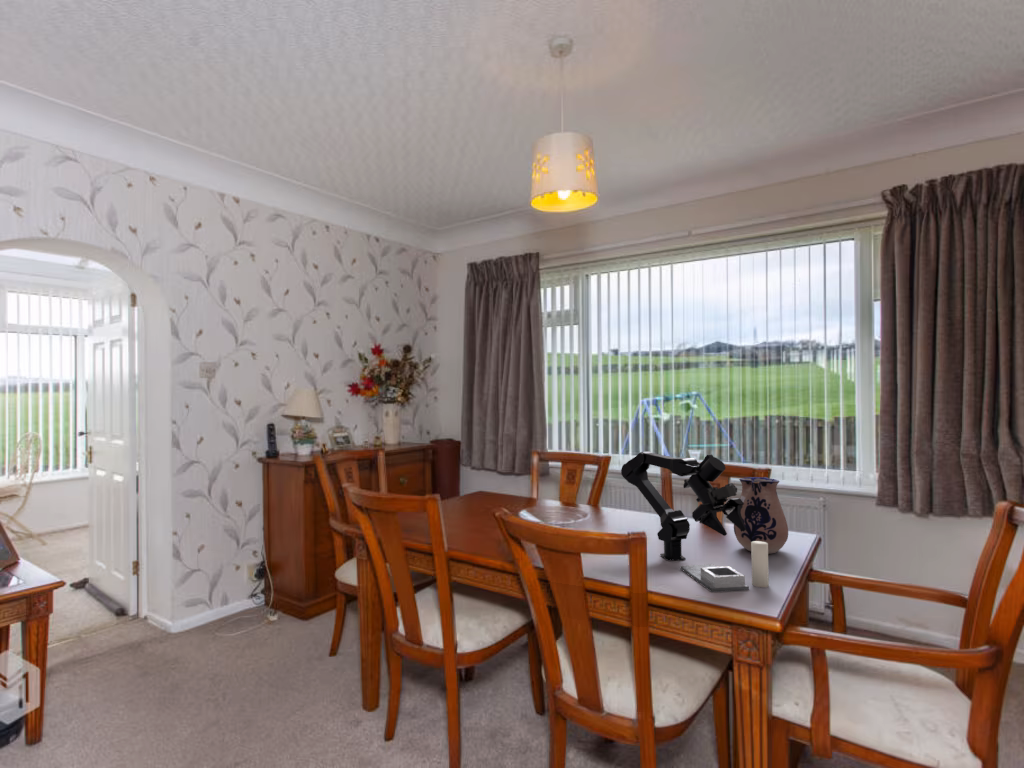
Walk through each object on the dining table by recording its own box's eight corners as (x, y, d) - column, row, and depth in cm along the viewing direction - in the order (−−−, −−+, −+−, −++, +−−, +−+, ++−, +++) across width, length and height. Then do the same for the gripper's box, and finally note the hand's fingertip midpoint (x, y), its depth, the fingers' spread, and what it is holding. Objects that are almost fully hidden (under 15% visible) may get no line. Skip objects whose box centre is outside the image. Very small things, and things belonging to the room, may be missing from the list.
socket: (680, 569, 173) (680, 556, 173) (713, 567, 175) (713, 554, 175) (711, 592, 153) (711, 577, 153) (748, 590, 154) (748, 575, 154)
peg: (748, 582, 160) (748, 541, 161) (763, 582, 161) (762, 540, 161) (757, 587, 156) (756, 545, 156) (771, 587, 156) (771, 544, 157)
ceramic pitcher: (731, 554, 189) (730, 481, 190) (737, 539, 208) (736, 473, 209) (788, 560, 181) (786, 484, 182) (789, 545, 200) (788, 476, 200)
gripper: (699, 477, 165) (732, 521, 156) (737, 472, 175) (771, 513, 166) (679, 499, 172) (709, 543, 162) (717, 493, 182) (747, 534, 172)
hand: (735, 532), depth 165 cm, fingers open, 9 cm apart
